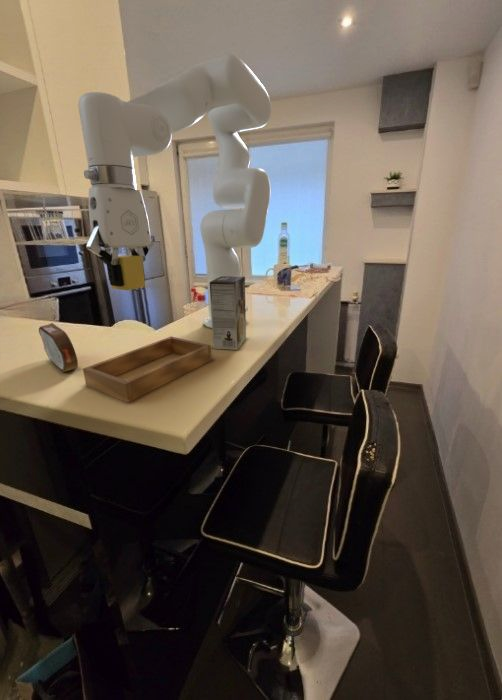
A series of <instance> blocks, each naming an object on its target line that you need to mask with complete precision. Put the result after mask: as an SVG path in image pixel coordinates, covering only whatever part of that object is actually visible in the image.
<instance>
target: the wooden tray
mask: <svg viewBox="0 0 502 700" xmlns="http://www.w3.org/2000/svg"><path fill="white" fill-rule="evenodd" d="M172 353H175V354H178V355H181V356H179V357H177V358H174V359H172V360H170V361H167V362H165V363H163V364H160V365H158V366H156V367H154V368H151V369H150V370H148V371H145V372H143V373H140V374H138V375H136V376H134V377H132V378H129V379H127V380H126V379H123V378H120V377H118V376H119V375H121V374H124V373H126V372H129V371H131V370H133V369H136V368H138V367H140V366H142V365H146V364H148V363H150V362H152V361H155V360H158V359H160V358H162V357H164V356H167V355H169V354H172ZM212 360H213V357H212V345H211V344H207V343H202V342H199V341H195V340H189V339H184V338H180V337H177V336H173V335H172V336H168V337H166V338H163V339H160V340H157V341H155V342H151V343H149V344H146V345H144V346H141V347H138V348H135V349H133V350H130V351H127V352H125V353H124V352H123V353H122V354H119V355H116V356H114V357H110V358H108V359H105V360H103V361H100V362H97V363H94V364H92V365H89V366H86V367H83V368H82V373H83V378H84V381H85V386H86V387H88V388H91V389H93V390H95V391H97V392H101V393H103V394H106V395H108V396H110V397H112V398H116V399H117V400H121V401H122V402H125V403H129V404H130V403H131V402H133V401H135V400H137V399H139V398H141V397H142V396H145V395H147V394H148V393H150V392H153V391H155V390H156V389H158V388H160V387H162V386H164V385H166V384H167V383H170V382H172V381H174V380H176V379H178V378H180V377H182V376H184V375H185V374H188V373H189V372H191V371H193V370H195V369H198V368H199V367H201V366H203V365H205V364H207V363H209V362H211V361H212Z"/></svg>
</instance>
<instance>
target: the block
mask: <svg viewBox="0 0 502 700" xmlns="http://www.w3.org/2000/svg"><path fill="white" fill-rule="evenodd" d="M117 264H118V265H121V270H122V277H123V284H124V285H123V286H112V285H111V289H114V290H121V291H131V290H137V289H141V288H146V278H145V279H144V274H145V270H144V271H143V266H144V262H143V263H142V256H133V255H130V254H123V255H118V263H117Z"/></svg>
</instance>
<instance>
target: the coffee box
mask: <svg viewBox="0 0 502 700" xmlns="http://www.w3.org/2000/svg"><path fill="white" fill-rule="evenodd" d="M210 298H211V316H212V328H211V333H212V347H213V349H215V350H232V351H238V350H239V349H240V347H241V346H242V345H243V343H244V342H245V341H246V339H247V317H246V316H247V315H246V314H247V313H246V312H247V311H246V307H245V306H246V276H240V277H232V276H221V277H219V278H217V279H215V280H213V281H211V282H210Z"/></svg>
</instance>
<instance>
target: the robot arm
mask: <svg viewBox="0 0 502 700" xmlns="http://www.w3.org/2000/svg"><path fill="white" fill-rule="evenodd" d="M78 99H79V100H78V104H77V106H78V113H79V120H80V125H81V131H82V137H83V143H84V149H85V154H86V160H87V166H88V167H87V169H84V171H83V176H84V178H85V179H86V180H89V181H90V182H89V183H90V185H91V187H89V188H88V216H89V224H90V232H91V234H90V235H89V239H88V241H87V243H86V245H85V248H86V250H88V251H89V252H91V253H92V254H94V255H96V257H98V258H99V260H101V261H102V263H103V264H104V265H106V270H107V276H108V281H109V284H110V286H111V287H112V286H123V285H124V284H123V277H122V270H121V265H118V264H117V263H118V256H119V248H120V249H121V248H127V249H128V252H129V255H133V256H142V263H143V264H144V262H146V260H147V259H146V257H147V255H148V253H149V251H150V250H151V249H152V248H153V246H154V243H155V242H154V240H153V239H152V237H151V230H150V224H149V223H150V222H149V217H148V213H147V209H146V208H147V207H146V204H145V201H144V197H143V194H142V191H141V190H140V189H137V179H136V172H135V165H134V164H135V163H134V158H136V157H137V158H138V157H146V156H153V155H157V154H161V153H163V152H165V151H166V150H167V149H168V147H169V146H170V144H171V141H172V135H173V134H175V133H177V132H181V131H184V130H186V129H188V128H190V127H192V126H193V125H195V124H196V123H197V122H198V121H200V120H201V119H202V118H203V117H204V116H206V115H207V119H208V122H209V125H210V128H211V130H212V133H213V135H214V138H215V140H216V144H217V147H218V162H217V166H216V172H215V178H214V183H213V190H212V193H213V194H212V197H213V202H214V203H215V204H216V206H218V207H219V208H222V209H216V210H212V211H209V212H207V213H206V214H205V215H204V216H203V217H202V219H201V221H200V235H201V239H202V243H203V248H204V253H205V264H206V283H207V284H206V285H207V302H208V317H207V318H205V319H204V320H203V322H204V323H203V324H204V325H205V326H206V327H207V328H211V329H212V316H211V298H210V282H211V281H213V280H215V279H217V278H219V277H221V276H232V277H241V264H240V259H239V257H238V255H237V253H236V251H235V250H234V249H235V248H237V249H238V248H239V249H241V248H242V249H250V248H251V249H252V248H255V247H257V246H259V245H260V244H261V242H262V240H263V237H264V233H265V228H266V224H267V217H268V212H269V207H270V202H271V194H272V192H271V191H272V189H271V188H272V186H271V181H270V177H269V175H268V173H267V172H266V170H264V169H262V168H259V167H250V162H251V154H250V151H249V149H248V147H247V145H246V144H245V142H244V141H243V140H242V138H241V137H240V134H239V133H238V132H245V131H250V130H257V129H260V128H263V127H265V126H266V125H267V124H268V123H269V121H270V119H271V116H272V103H271V99H270V95H269V94H268V91H267V89H266V88H265V86H264V85H263V84H262V82H261V81H260V80H259V78H258V77H257V76H256V75H255V73H254V72H253V71H252V69H250V67H249V66H248V65H247V64H246V63H245V62H244V61H243V60H242V59H241V58H239V57H237V56H236V55H235V54H226V55H222V56H219V57H215V58H212V59H209V60H205V61H204V60H203V61H202V62H201V61H200V62H199V63H196V64H194V65H193V66H191V67H189V68H188V69H186V70H185V71H183V72H181V73H179V74H178V75H176V76H174V77H172V78H171V79H169V80H167V81H165V82H163V83H161V84H159V85H156V86H155V87H153V88H151V89H149V90H148V91H146V92H144V93H142V94H139V95H138V96H136V97H134V98H131V99H130V100H128V101H124V100H122V99H121V98H119V97H117V96H116V95H114V94H111V93H106V92H102V91H101V92H100V91H91V92H85V93H83V94H82V95H81V96H80V97H79V98H78ZM143 271H144V272H145V268H144V265H143ZM144 279H145V280H146V273H144ZM245 307H246V312H248V311H249V308H248V306H247V305H245Z"/></svg>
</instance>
